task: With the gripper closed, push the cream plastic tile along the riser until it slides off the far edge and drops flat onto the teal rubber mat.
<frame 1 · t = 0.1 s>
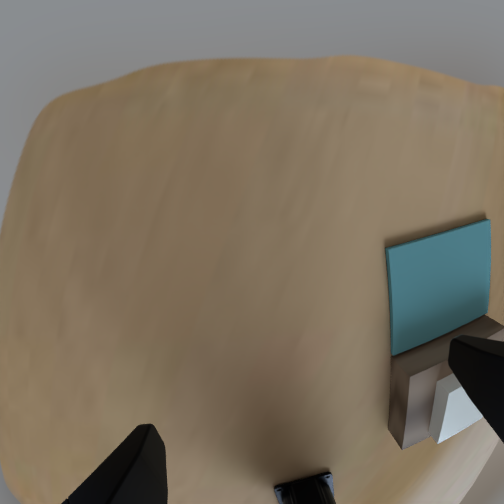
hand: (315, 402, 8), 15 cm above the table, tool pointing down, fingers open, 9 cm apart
mat: (444, 284, 24), on the table
tile: (456, 396, 23), point 3 cm above the table, touching riser
riser: (439, 374, 27), on the table
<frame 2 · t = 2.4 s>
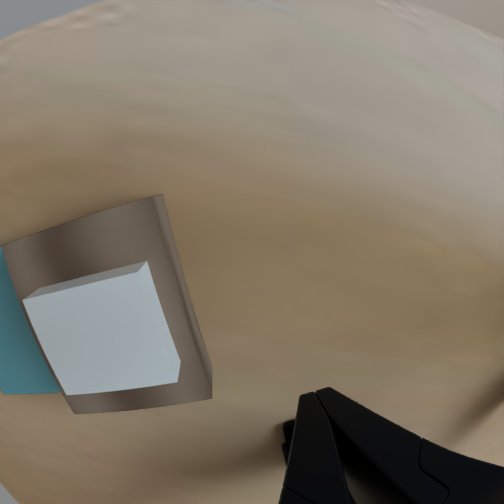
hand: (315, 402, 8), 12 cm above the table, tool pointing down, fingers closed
mat: (9, 326, 19), on the table
tile: (106, 326, 16), point 3 cm above the table, touching riser
riser: (115, 304, 19), on the table
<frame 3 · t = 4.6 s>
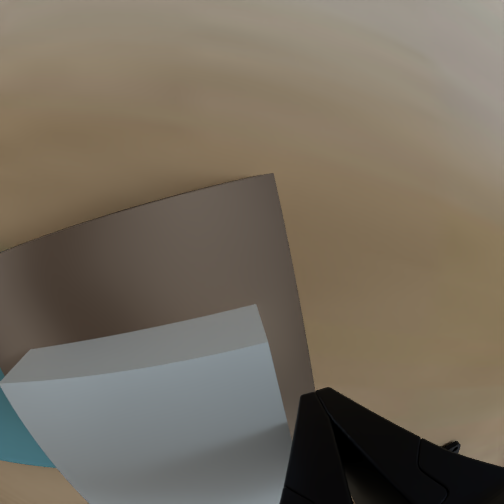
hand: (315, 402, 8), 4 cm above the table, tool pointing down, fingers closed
tile: (164, 416, 8), point 3 cm above the table, touching gripper, riser
riser: (165, 361, 12), on the table
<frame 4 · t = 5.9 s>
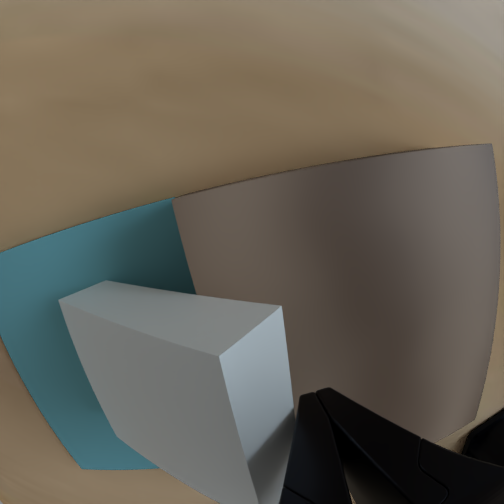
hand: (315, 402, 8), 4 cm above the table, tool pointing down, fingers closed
mat: (108, 370, 12), on the table
tile: (192, 380, 9), point 3 cm above the table, tilted 40°, touching gripper
riser: (350, 316, 12), on the table
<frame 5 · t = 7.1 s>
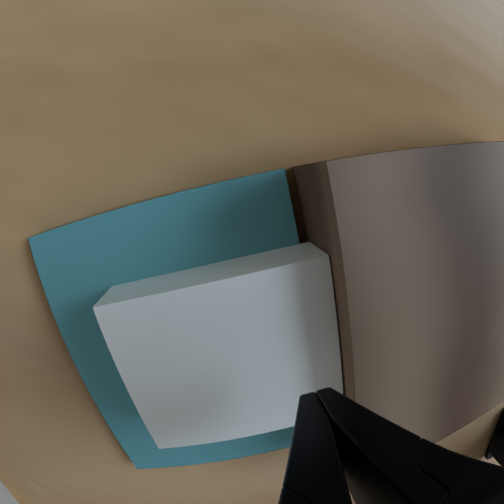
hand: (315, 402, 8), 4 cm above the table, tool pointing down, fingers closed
mat: (189, 355, 12), on the table
tile: (227, 342, 11), resting on mat
riser: (425, 289, 12), on the table
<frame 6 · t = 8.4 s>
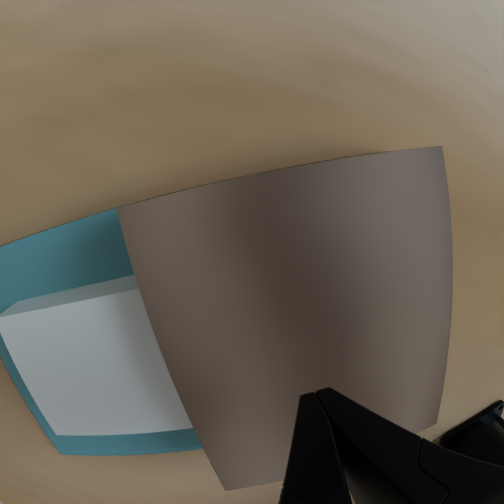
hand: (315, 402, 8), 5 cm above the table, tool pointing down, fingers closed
mat: (81, 360, 12), on the table
tile: (103, 352, 12), resting on mat
riser: (302, 316, 13), on the table
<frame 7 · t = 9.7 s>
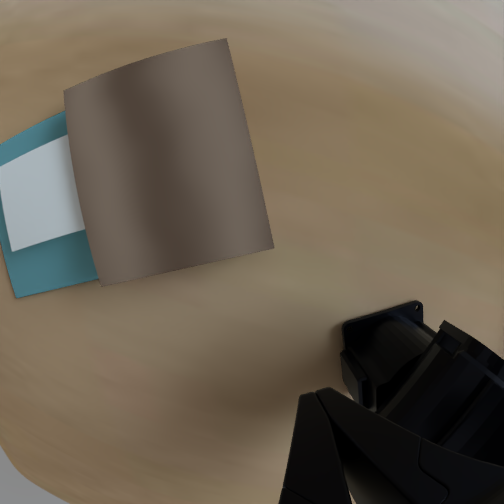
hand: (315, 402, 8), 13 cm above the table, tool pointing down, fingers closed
mat: (41, 206, 19), on the table
tile: (53, 193, 19), resting on mat
riser: (169, 164, 19), on the table
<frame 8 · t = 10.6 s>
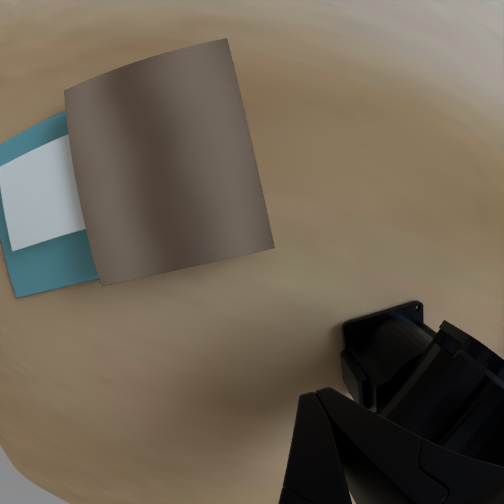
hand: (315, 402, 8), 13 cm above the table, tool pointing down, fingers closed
mat: (42, 206, 19), on the table
tile: (54, 193, 19), resting on mat
riser: (170, 164, 19), on the table
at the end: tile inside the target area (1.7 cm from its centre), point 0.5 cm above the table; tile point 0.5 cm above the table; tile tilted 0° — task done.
